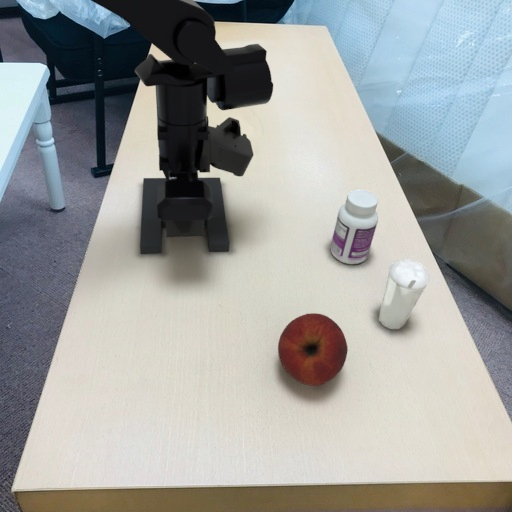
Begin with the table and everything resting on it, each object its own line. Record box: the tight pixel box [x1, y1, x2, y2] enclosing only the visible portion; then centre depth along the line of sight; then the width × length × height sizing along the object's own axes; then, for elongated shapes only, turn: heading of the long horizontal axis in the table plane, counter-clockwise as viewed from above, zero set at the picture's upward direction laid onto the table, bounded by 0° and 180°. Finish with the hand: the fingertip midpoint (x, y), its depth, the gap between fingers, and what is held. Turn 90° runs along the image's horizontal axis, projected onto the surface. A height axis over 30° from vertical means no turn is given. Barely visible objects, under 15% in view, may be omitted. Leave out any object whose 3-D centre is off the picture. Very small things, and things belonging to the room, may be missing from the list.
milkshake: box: [378, 258, 430, 330], centre depth 60 cm, size 4×5×10 cm
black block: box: [165, 220, 205, 238], centre depth 69 cm, size 5×5×3 cm
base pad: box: [139, 177, 230, 255], centre depth 75 cm, size 12×16×2 cm
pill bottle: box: [330, 188, 379, 265], centre depth 69 cm, size 5×5×10 cm
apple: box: [277, 312, 349, 387], centre depth 55 cm, size 7×8×8 cm
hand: (184, 219), depth 69 cm, fingers closed on black block, 5 cm apart
